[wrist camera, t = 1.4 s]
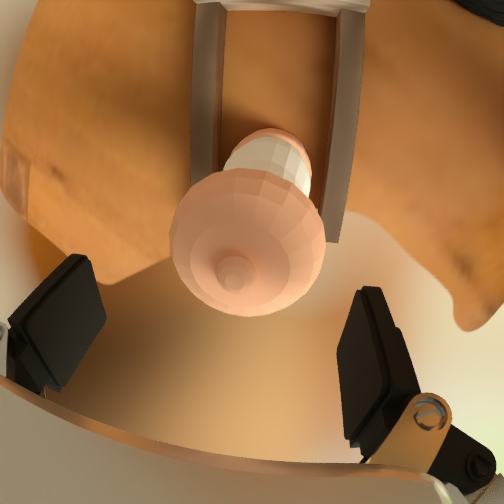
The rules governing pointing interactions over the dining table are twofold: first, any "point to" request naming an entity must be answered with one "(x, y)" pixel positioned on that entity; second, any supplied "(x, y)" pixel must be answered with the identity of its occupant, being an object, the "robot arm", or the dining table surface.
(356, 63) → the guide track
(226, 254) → the pepper shaker
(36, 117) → the dining table surface
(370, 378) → the robot arm
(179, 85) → the dining table surface
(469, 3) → the cable lock
